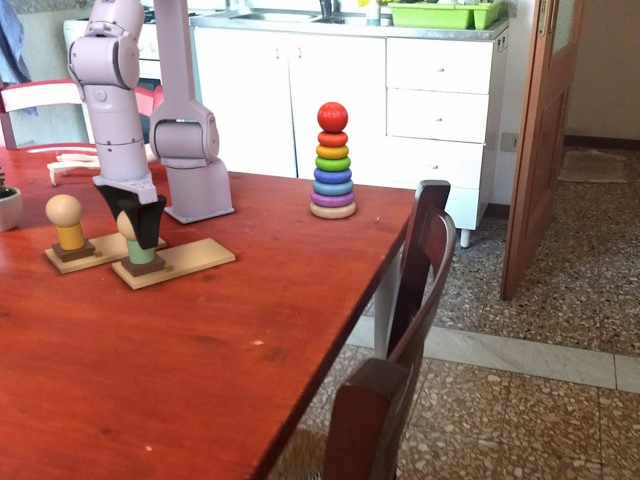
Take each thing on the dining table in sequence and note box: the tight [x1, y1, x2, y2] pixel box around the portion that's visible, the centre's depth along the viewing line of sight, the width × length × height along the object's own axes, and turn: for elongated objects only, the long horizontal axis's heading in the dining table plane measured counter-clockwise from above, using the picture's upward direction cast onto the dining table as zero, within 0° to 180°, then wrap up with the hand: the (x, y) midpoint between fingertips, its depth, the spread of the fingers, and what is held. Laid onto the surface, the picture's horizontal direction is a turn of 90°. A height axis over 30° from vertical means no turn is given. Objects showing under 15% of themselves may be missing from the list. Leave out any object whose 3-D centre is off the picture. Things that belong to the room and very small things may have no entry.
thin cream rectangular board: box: [111, 237, 236, 290], centre depth 91 cm, size 15×8×2 cm, turn 131°
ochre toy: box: [45, 193, 96, 262], centre depth 90 cm, size 9×5×5 cm
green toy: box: [116, 211, 166, 277], centre depth 86 cm, size 9×5×5 cm
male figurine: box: [46, 143, 161, 187], centre depth 122 cm, size 14×6×25 cm
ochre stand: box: [44, 231, 168, 275], centre depth 94 cm, size 15×8×2 cm, turn 131°
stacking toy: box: [309, 101, 357, 220], centre depth 106 cm, size 8×8×19 cm
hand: (138, 238), depth 86 cm, fingers open, 7 cm apart
